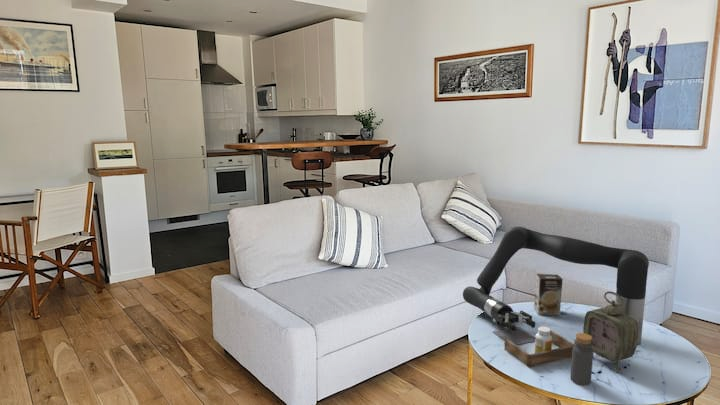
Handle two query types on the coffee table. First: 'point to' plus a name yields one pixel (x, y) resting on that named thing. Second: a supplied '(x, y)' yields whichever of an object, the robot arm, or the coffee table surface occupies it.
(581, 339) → the bottle
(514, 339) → the rubber mat
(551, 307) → the coffee box
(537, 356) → the walnut u-shaped bay
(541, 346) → the supplement bottle
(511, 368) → the coffee table surface
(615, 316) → the tabletop clock
